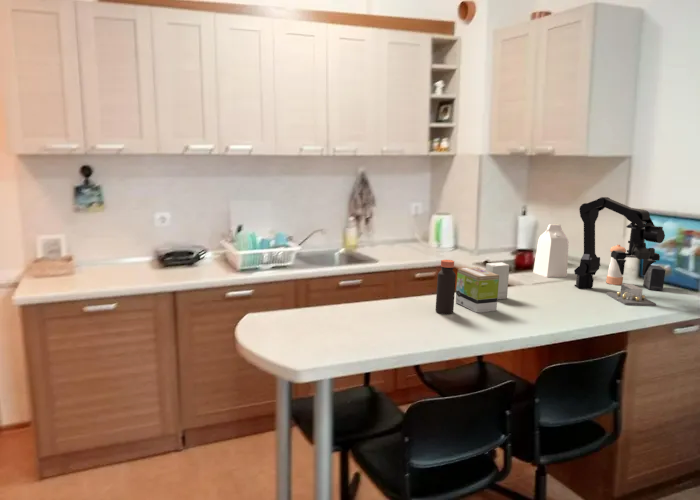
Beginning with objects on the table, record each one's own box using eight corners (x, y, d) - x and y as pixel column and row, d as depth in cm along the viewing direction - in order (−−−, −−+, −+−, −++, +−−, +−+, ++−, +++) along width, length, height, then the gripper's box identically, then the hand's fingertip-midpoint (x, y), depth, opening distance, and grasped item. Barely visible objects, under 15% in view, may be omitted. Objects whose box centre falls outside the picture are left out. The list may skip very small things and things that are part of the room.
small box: (663, 291, 277) (666, 269, 275) (648, 290, 278) (651, 268, 277) (657, 286, 287) (659, 265, 285) (642, 285, 289) (645, 264, 287)
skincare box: (499, 295, 257) (502, 261, 254) (507, 299, 251) (510, 264, 249) (482, 296, 254) (485, 262, 251) (490, 300, 248) (493, 265, 246)
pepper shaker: (606, 283, 288) (610, 245, 285) (605, 281, 295) (610, 243, 292) (622, 285, 286) (627, 246, 282) (622, 282, 292) (626, 244, 289)
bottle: (449, 315, 223) (452, 263, 219) (432, 312, 226) (435, 260, 223) (456, 311, 229) (459, 260, 225) (439, 308, 232) (443, 258, 229)
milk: (552, 271, 313) (557, 222, 309) (566, 276, 303) (571, 225, 298) (533, 272, 310) (537, 223, 305) (546, 277, 299) (551, 226, 294)
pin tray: (625, 304, 249) (625, 298, 248) (606, 294, 266) (607, 288, 266) (655, 305, 249) (656, 299, 248) (635, 295, 267) (635, 289, 266)
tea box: (454, 303, 241) (456, 267, 239) (474, 301, 245) (477, 266, 243) (476, 313, 228) (478, 275, 225) (497, 311, 232) (500, 274, 229)
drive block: (629, 300, 253) (630, 288, 252) (620, 295, 262) (621, 283, 261) (641, 300, 253) (642, 289, 252) (631, 295, 262) (632, 284, 261)
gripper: (624, 241, 245) (620, 278, 248) (669, 243, 246) (664, 280, 249) (612, 237, 256) (608, 272, 259) (655, 239, 257) (650, 274, 259)
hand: (632, 275), depth 256 cm, fingers open, 9 cm apart
